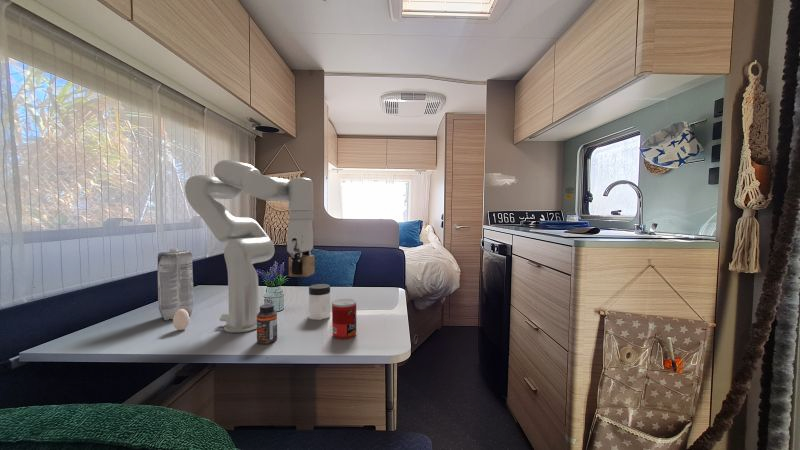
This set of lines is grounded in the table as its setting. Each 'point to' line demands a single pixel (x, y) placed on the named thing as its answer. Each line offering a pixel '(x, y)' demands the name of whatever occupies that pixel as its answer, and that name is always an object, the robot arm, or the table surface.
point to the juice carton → (175, 282)
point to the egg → (181, 319)
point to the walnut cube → (304, 266)
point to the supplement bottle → (266, 324)
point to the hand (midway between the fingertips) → (301, 271)
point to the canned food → (344, 318)
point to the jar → (319, 301)
